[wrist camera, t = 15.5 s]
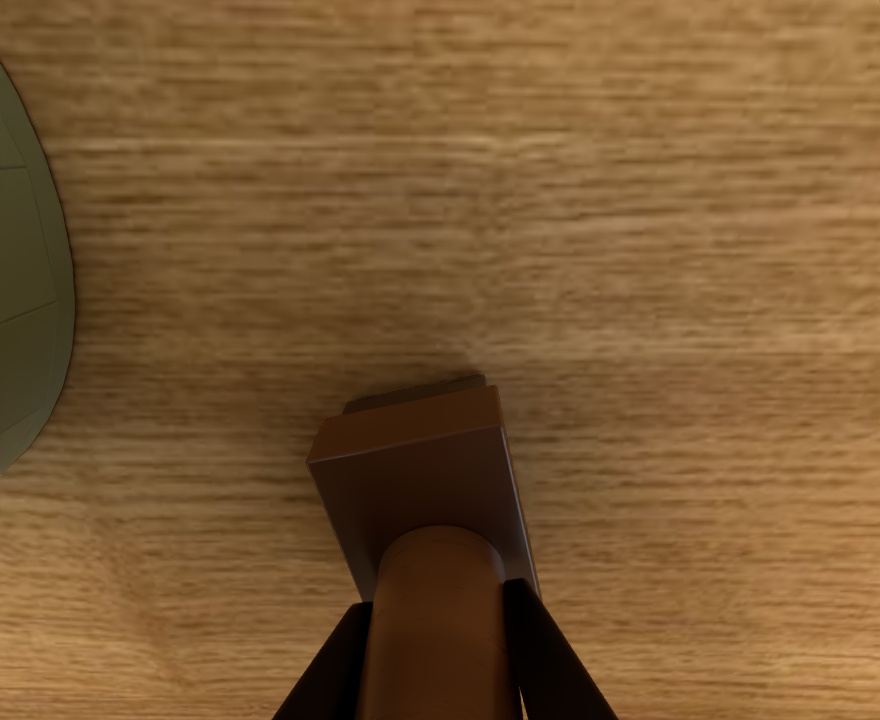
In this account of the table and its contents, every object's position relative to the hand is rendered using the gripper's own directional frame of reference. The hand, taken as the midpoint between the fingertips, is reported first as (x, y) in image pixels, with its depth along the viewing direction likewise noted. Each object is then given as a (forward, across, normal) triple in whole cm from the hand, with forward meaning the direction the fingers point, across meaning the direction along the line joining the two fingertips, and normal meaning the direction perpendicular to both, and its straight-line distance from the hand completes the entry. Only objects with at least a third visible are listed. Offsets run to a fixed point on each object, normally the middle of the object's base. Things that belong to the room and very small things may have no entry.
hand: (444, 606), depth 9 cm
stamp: (+3, 0, 0) cm, 3 cm away
